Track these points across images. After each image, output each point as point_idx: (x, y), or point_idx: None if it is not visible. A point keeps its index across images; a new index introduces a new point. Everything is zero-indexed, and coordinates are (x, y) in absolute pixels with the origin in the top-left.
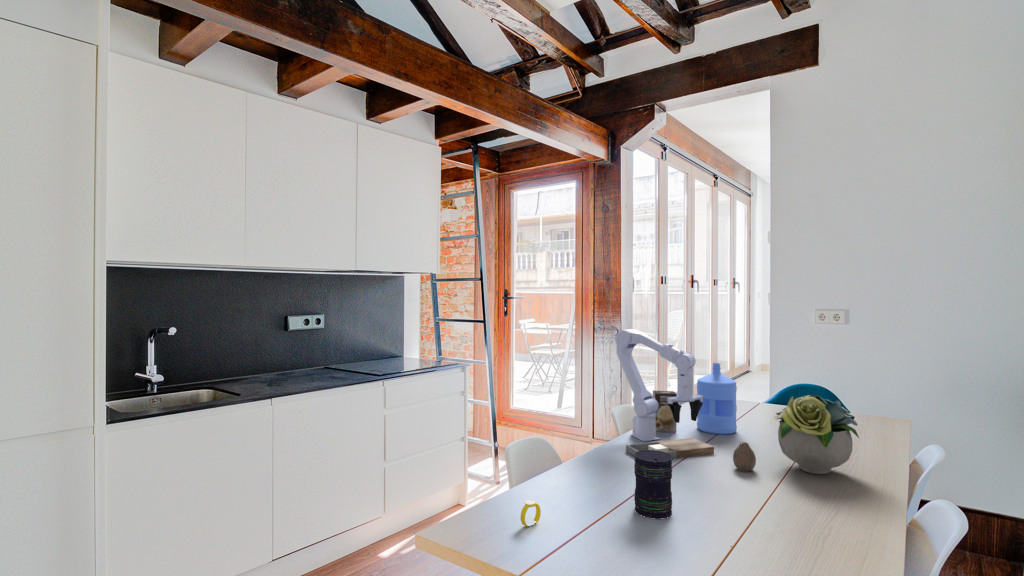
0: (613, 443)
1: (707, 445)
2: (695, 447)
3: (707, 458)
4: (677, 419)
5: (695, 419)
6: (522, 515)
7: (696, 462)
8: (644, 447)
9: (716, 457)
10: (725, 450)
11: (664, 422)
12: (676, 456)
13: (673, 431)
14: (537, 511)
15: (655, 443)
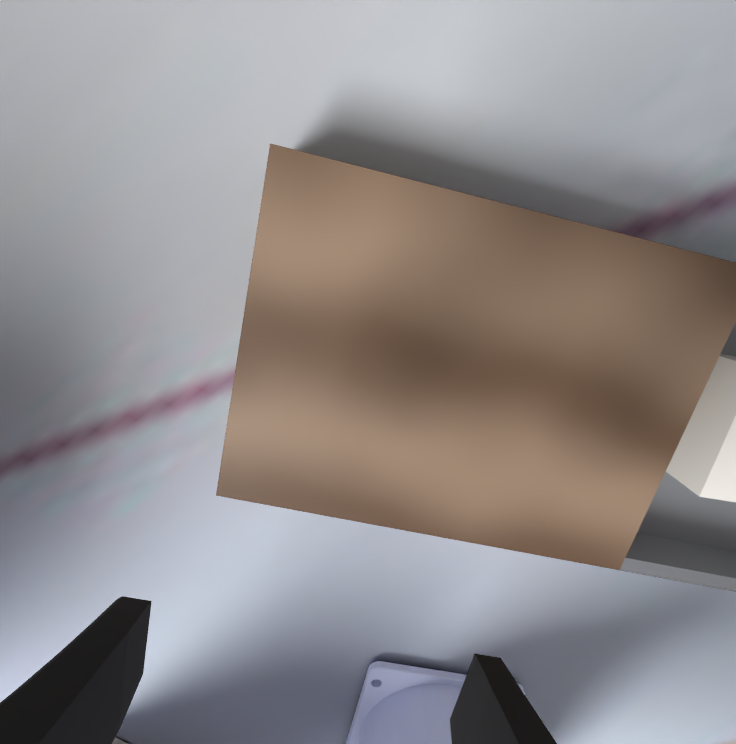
0: (720, 738)
1: (296, 225)
2: (478, 248)
3: (470, 89)
4: (534, 715)
5: (127, 617)
6: None
7: (672, 64)
8: (725, 558)
9: (362, 55)
10: (83, 166)
11: None
12: None
13: (114, 741)
14: None
15: (640, 555)
